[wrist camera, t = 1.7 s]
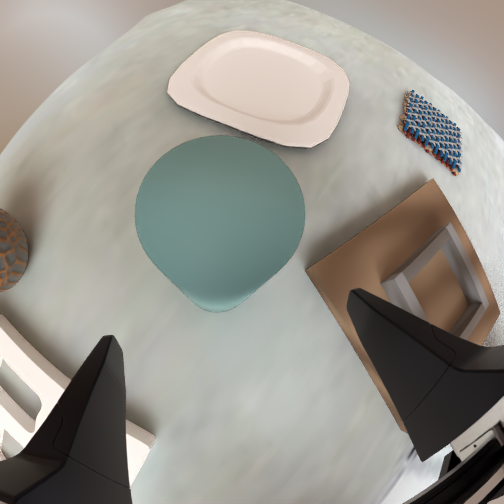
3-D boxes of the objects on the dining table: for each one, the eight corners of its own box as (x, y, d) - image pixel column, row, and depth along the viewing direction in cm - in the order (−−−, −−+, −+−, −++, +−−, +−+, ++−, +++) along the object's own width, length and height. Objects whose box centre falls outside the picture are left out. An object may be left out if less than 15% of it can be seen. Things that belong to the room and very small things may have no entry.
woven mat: (455, 134, 30) (463, 127, 28) (454, 181, 27) (464, 175, 26) (403, 93, 31) (409, 84, 29) (393, 133, 28) (401, 124, 26)
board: (491, 314, 23) (512, 310, 20) (401, 430, 19) (423, 440, 15) (425, 184, 26) (444, 169, 22) (304, 270, 21) (321, 260, 18)
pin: (264, 289, 21) (336, 234, 8) (205, 325, 19) (187, 328, 7) (228, 233, 21) (247, 116, 9) (171, 266, 20) (111, 180, 8)
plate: (352, 78, 29) (357, 69, 28) (316, 174, 24) (322, 165, 23) (229, 32, 29) (230, 22, 28) (148, 107, 24) (146, 96, 22)
